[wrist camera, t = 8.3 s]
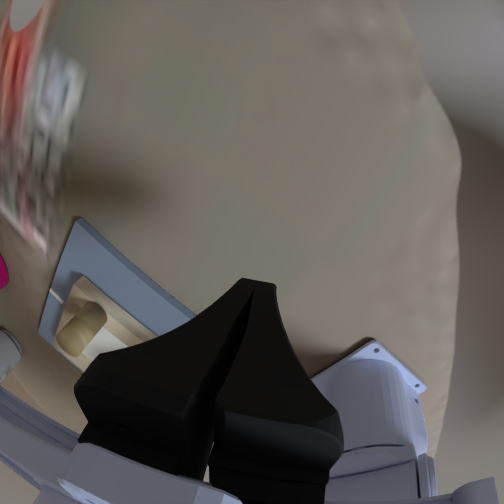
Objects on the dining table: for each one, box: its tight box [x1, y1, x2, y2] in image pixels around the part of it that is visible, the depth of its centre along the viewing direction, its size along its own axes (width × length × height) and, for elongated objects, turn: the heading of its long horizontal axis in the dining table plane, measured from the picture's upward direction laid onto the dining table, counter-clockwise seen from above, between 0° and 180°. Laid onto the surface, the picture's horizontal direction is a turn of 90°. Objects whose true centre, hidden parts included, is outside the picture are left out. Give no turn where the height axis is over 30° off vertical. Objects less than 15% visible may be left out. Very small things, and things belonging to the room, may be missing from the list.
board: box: [38, 217, 196, 373], centre depth 29 cm, size 22×20×1 cm
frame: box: [53, 275, 158, 372], centre depth 26 cm, size 16×12×6 cm
